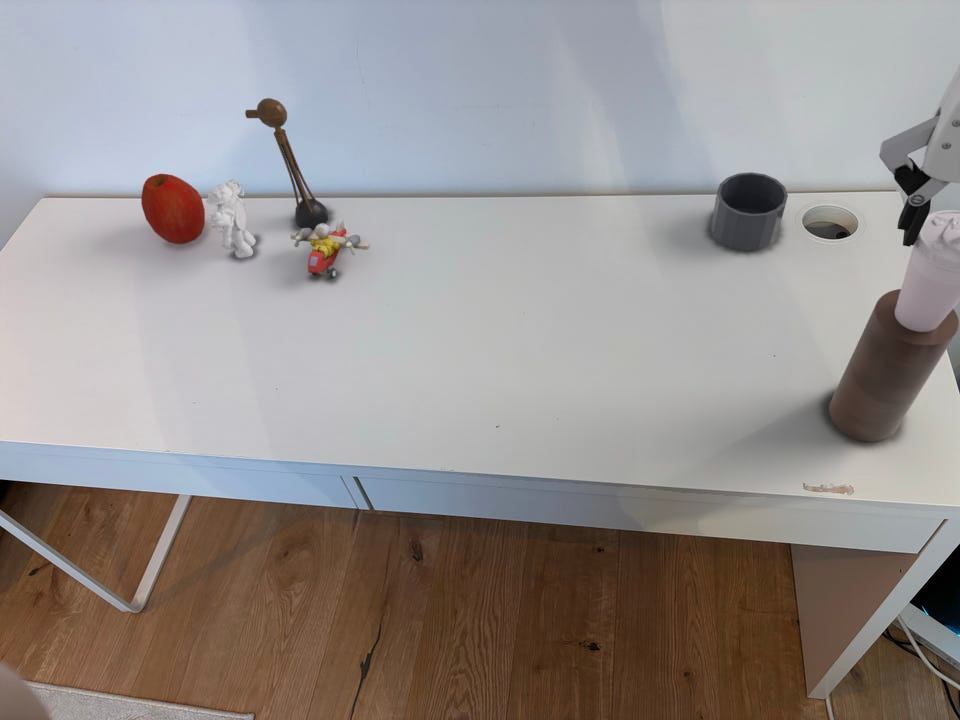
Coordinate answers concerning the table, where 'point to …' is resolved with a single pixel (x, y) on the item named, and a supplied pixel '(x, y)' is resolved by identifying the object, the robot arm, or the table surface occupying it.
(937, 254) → the smoothie
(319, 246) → the toy airplane
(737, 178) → the grey cup holder
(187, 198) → the red oval fruit
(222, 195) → the hat wearing toy figure
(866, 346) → the stand
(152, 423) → the table surface
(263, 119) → the wooden tabletop sculpture
